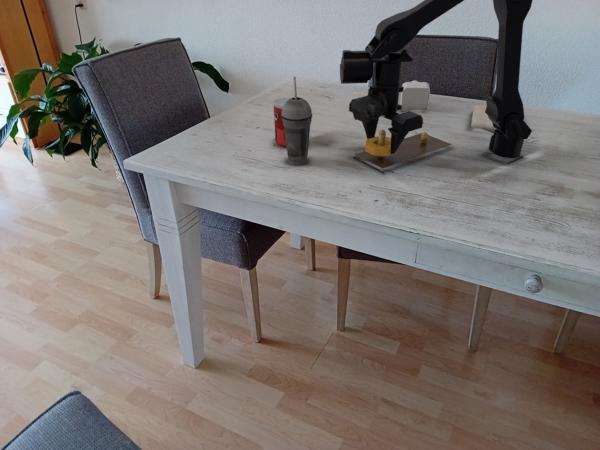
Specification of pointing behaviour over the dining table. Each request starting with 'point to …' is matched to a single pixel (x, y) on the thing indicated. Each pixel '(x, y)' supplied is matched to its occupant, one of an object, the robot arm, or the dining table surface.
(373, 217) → the dining table surface
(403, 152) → the peg rack
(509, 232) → the dining table surface
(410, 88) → the grey block
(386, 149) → the ring
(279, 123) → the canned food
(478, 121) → the washcloth
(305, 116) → the beverage cup
